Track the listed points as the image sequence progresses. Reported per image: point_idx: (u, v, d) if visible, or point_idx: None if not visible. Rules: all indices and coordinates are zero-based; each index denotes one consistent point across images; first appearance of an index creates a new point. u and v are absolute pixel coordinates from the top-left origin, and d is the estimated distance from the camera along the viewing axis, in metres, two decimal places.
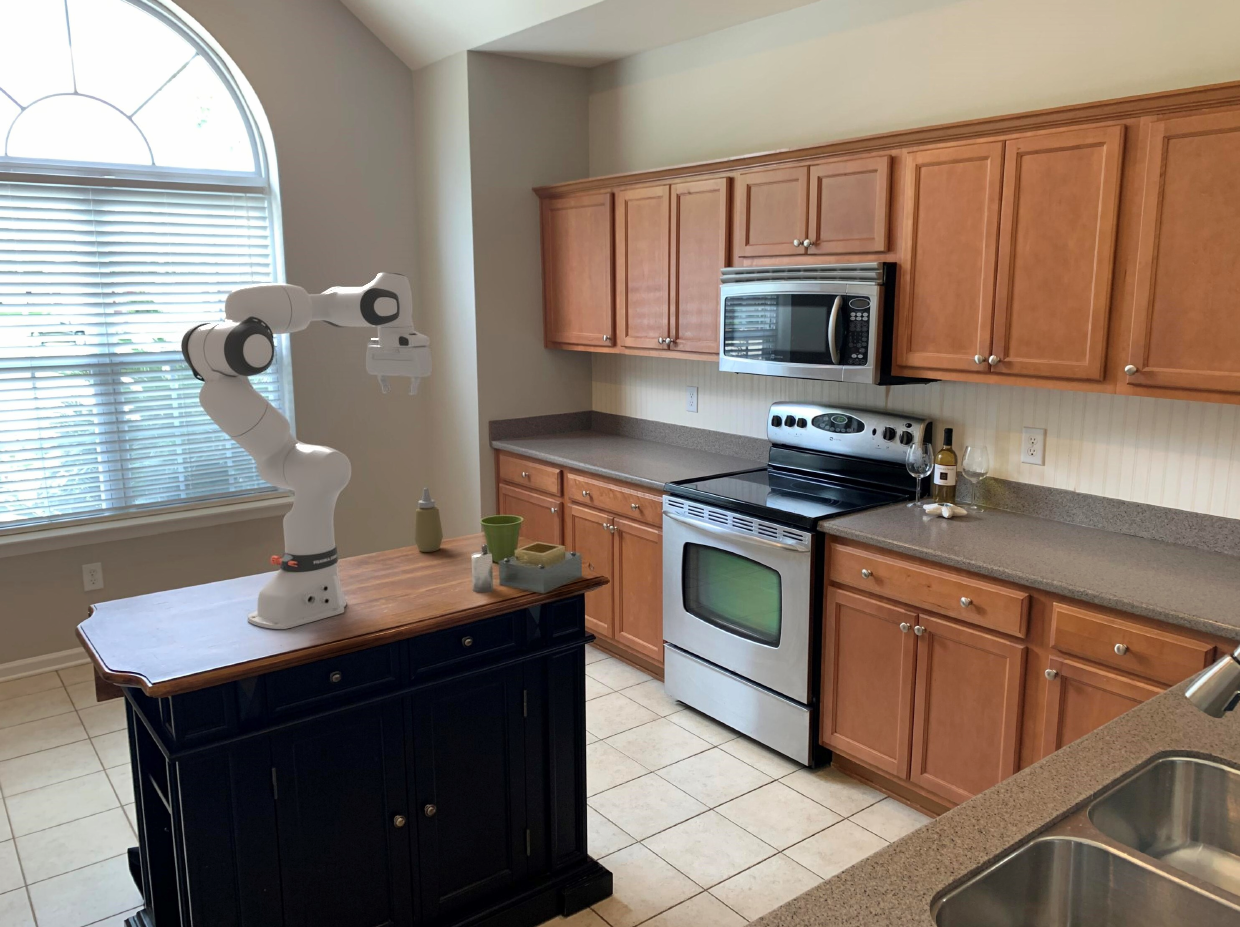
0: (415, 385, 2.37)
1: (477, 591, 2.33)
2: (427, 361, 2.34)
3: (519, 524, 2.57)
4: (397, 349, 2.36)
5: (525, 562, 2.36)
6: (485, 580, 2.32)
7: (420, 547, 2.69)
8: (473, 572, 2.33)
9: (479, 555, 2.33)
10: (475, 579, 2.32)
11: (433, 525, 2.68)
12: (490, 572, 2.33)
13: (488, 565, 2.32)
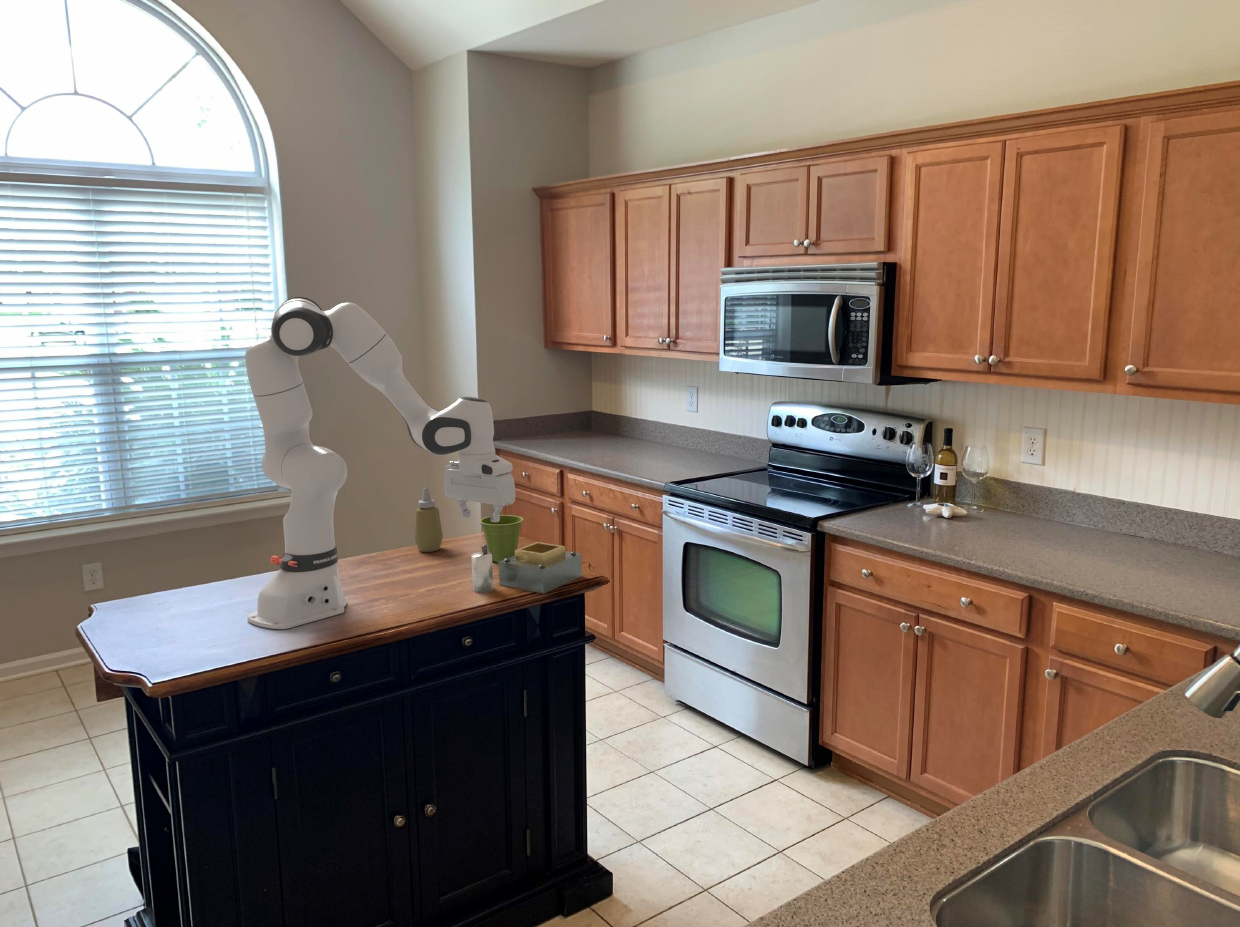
0: (498, 512, 2.28)
1: (477, 591, 2.33)
2: (511, 489, 2.25)
3: (519, 524, 2.57)
4: (479, 476, 2.27)
5: (525, 562, 2.36)
6: (485, 580, 2.32)
7: (420, 547, 2.69)
8: (473, 572, 2.33)
9: (479, 555, 2.33)
10: (475, 579, 2.32)
11: (433, 525, 2.68)
12: (490, 572, 2.33)
13: (488, 565, 2.32)
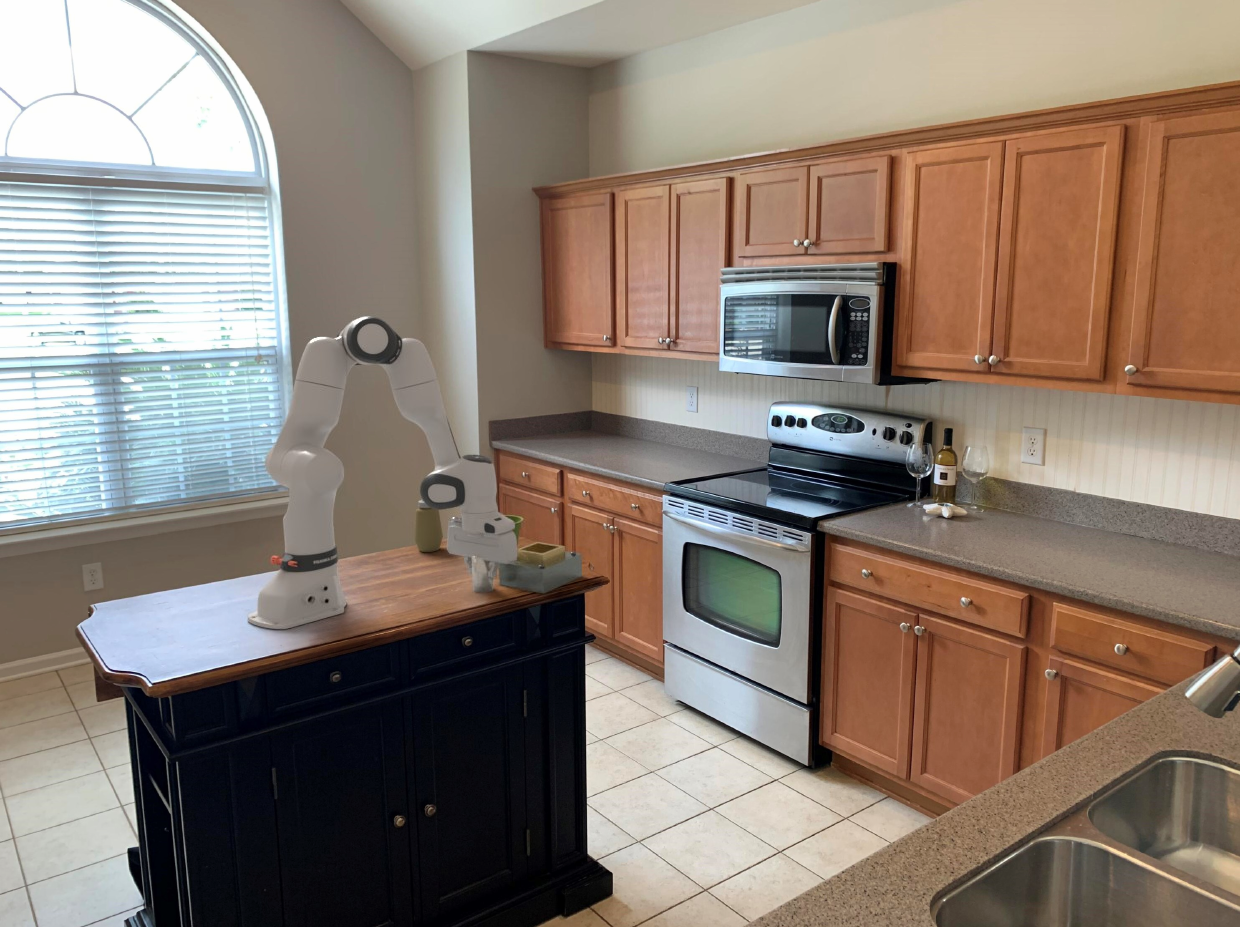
0: (495, 569, 2.31)
1: (477, 591, 2.33)
2: (513, 547, 2.28)
3: (519, 524, 2.57)
4: (482, 534, 2.29)
5: (525, 562, 2.36)
6: (485, 580, 2.32)
7: (420, 547, 2.69)
8: (473, 572, 2.33)
9: None
10: (475, 579, 2.32)
11: (433, 525, 2.68)
12: None
13: (488, 565, 2.32)
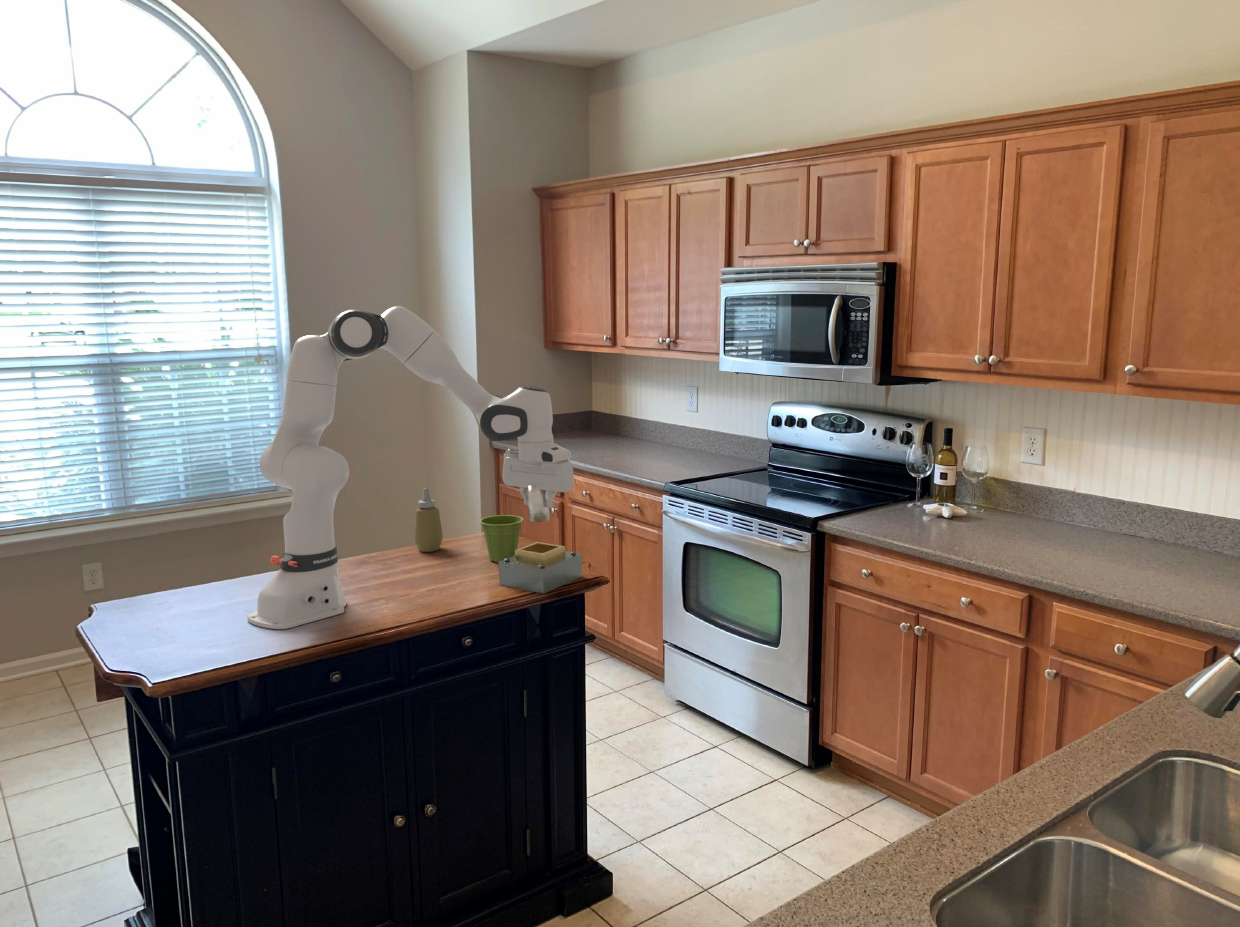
0: (551, 498, 2.35)
1: (534, 520, 2.36)
2: (570, 476, 2.31)
3: (519, 524, 2.57)
4: (538, 463, 2.33)
5: (525, 562, 2.36)
6: (542, 509, 2.36)
7: (420, 547, 2.69)
8: (530, 502, 2.36)
9: None
10: (532, 508, 2.36)
11: (433, 525, 2.68)
12: None
13: (544, 494, 2.36)
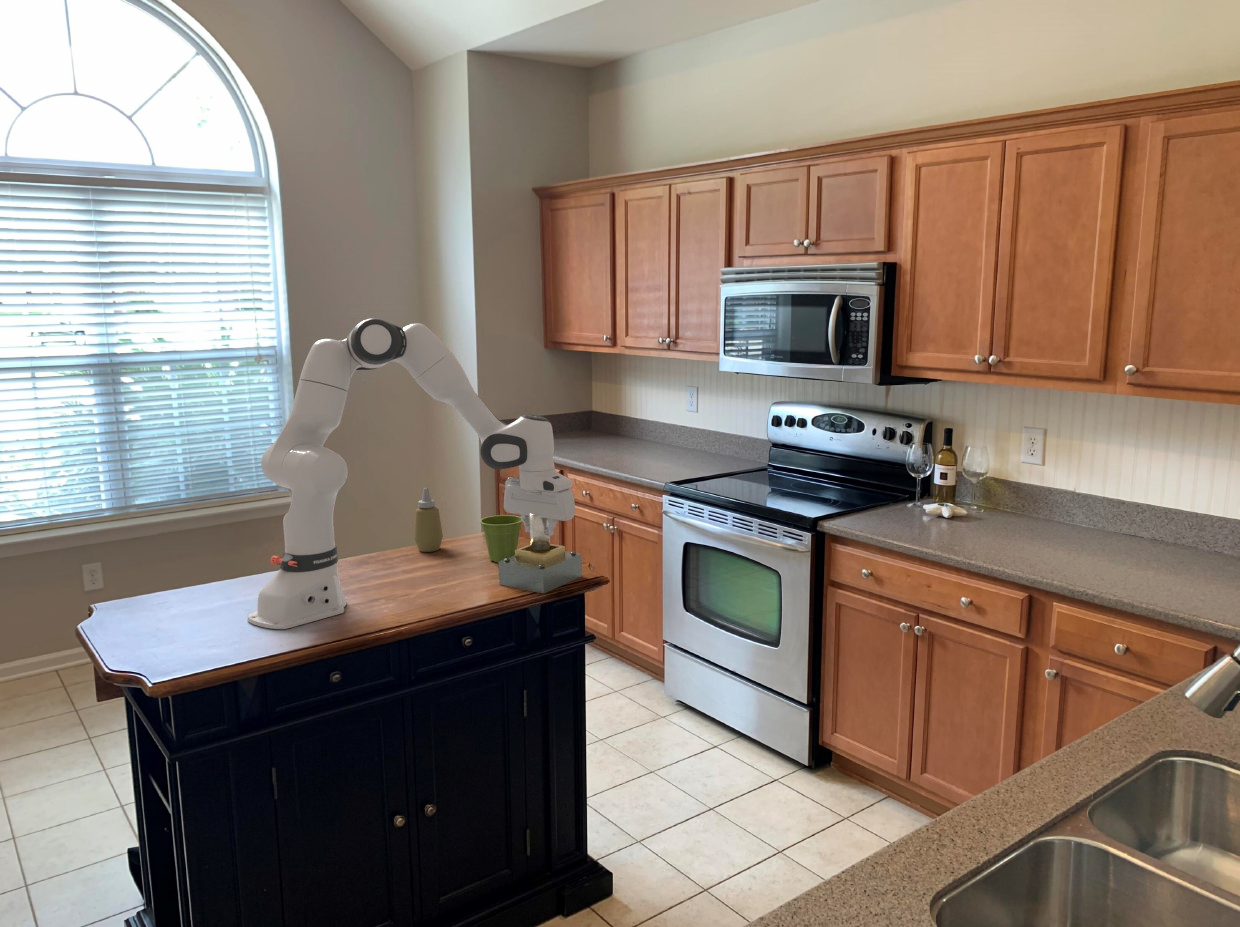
0: (552, 526, 2.36)
1: (535, 548, 2.38)
2: (571, 505, 2.33)
3: (519, 524, 2.57)
4: (540, 492, 2.34)
5: (525, 562, 2.36)
6: (543, 537, 2.37)
7: (420, 547, 2.69)
8: (531, 529, 2.38)
9: None
10: (533, 536, 2.37)
11: (433, 525, 2.68)
12: None
13: (545, 522, 2.37)
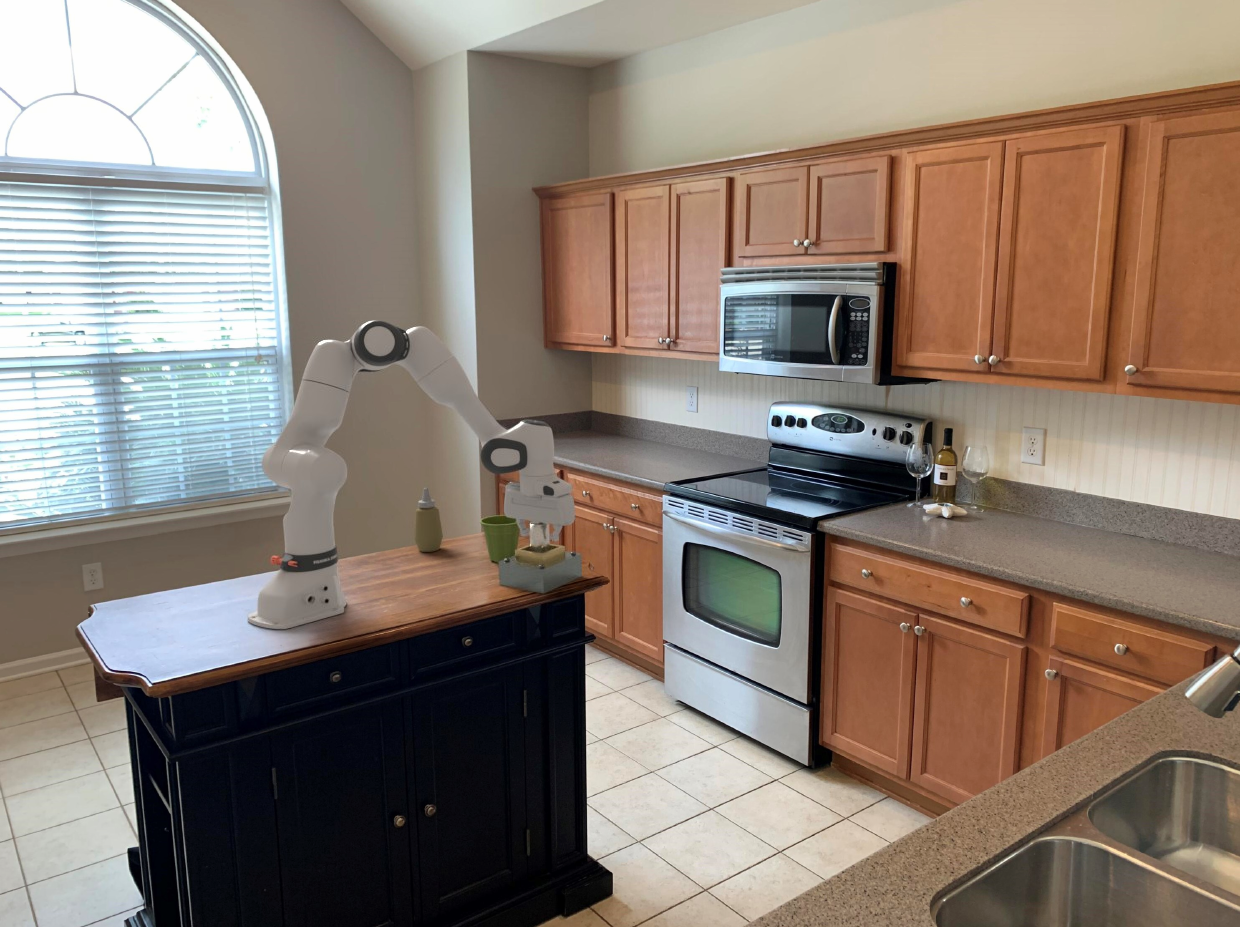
0: (557, 532, 2.36)
1: None
2: (571, 510, 2.33)
3: None
4: (540, 497, 2.34)
5: (525, 562, 2.36)
6: (543, 548, 2.38)
7: (420, 547, 2.69)
8: (531, 540, 2.38)
9: (537, 523, 2.38)
10: (533, 546, 2.38)
11: (433, 525, 2.68)
12: (548, 540, 2.38)
13: (545, 533, 2.37)
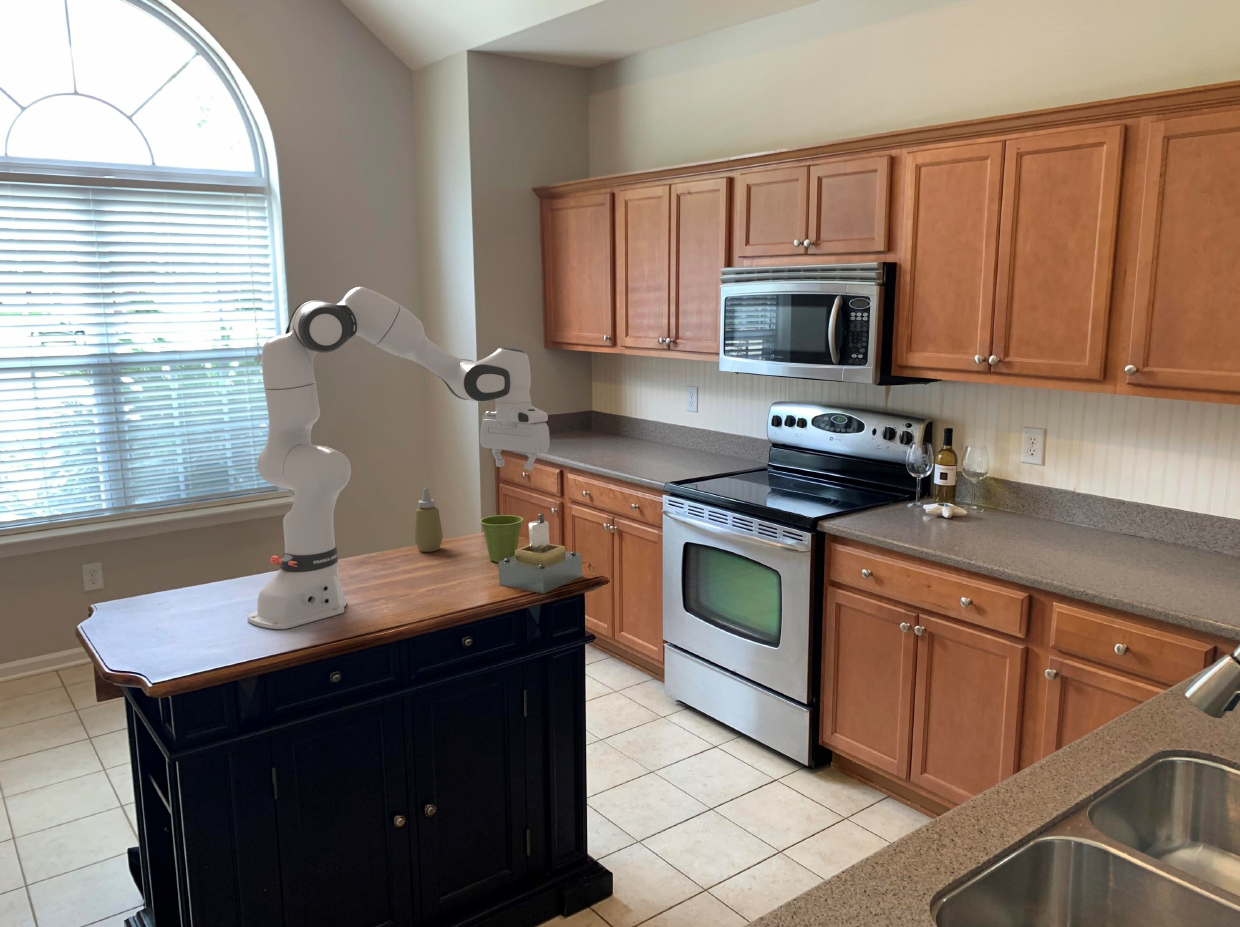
0: (532, 461, 2.35)
1: None
2: (546, 438, 2.33)
3: (519, 524, 2.57)
4: (515, 424, 2.34)
5: (525, 562, 2.36)
6: (543, 548, 2.38)
7: (420, 547, 2.69)
8: (530, 540, 2.38)
9: (536, 523, 2.38)
10: (532, 547, 2.38)
11: (433, 525, 2.68)
12: (547, 539, 2.38)
13: (545, 533, 2.37)
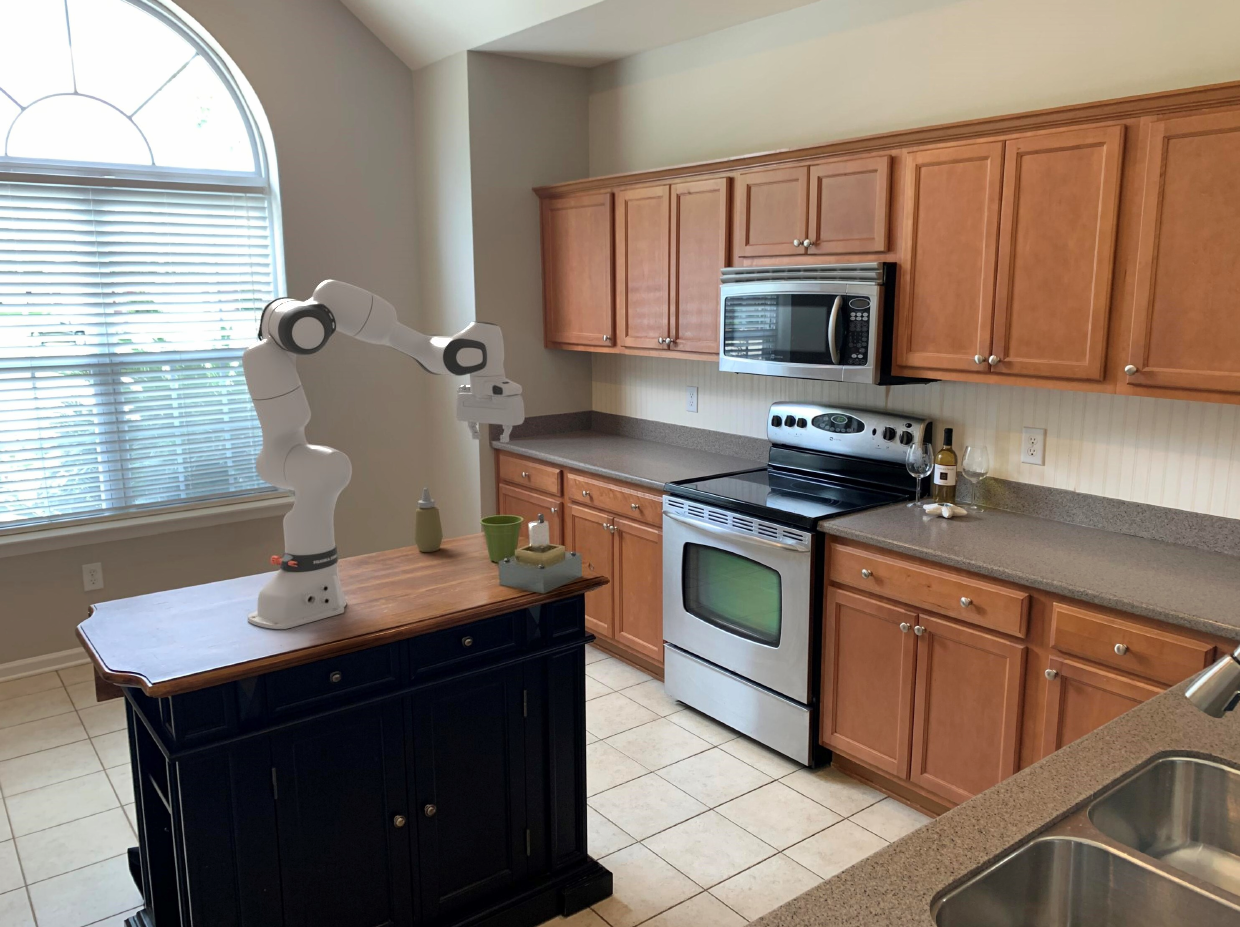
0: (507, 433, 2.38)
1: None
2: (520, 410, 2.35)
3: (519, 524, 2.57)
4: (490, 397, 2.37)
5: (525, 562, 2.36)
6: (543, 548, 2.38)
7: (420, 547, 2.69)
8: (530, 540, 2.38)
9: (536, 523, 2.38)
10: (532, 547, 2.38)
11: (433, 525, 2.68)
12: (547, 540, 2.38)
13: (545, 533, 2.37)
